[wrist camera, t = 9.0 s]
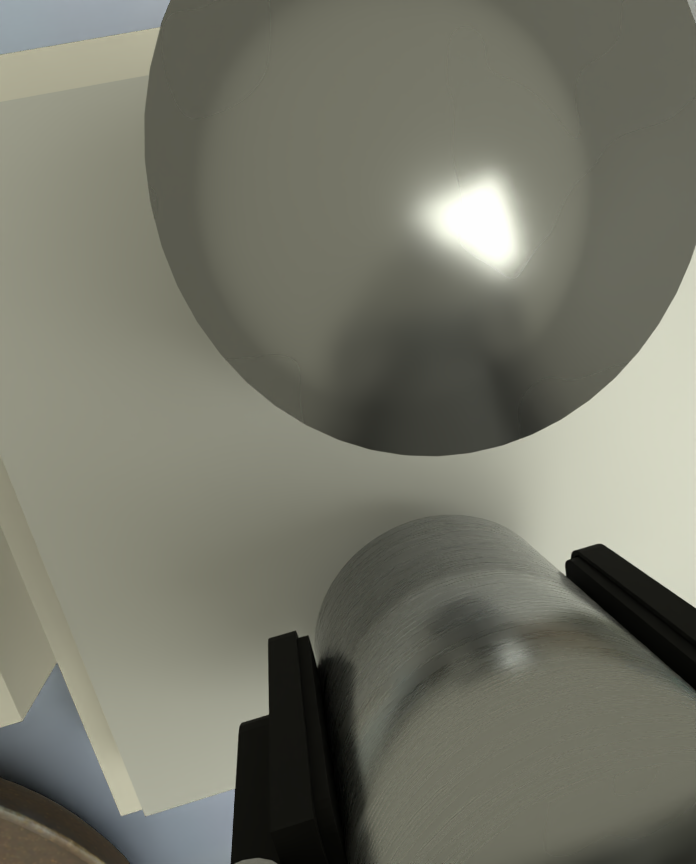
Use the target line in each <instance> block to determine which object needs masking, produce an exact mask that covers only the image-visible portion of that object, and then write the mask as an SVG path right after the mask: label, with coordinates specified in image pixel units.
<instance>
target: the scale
mask: <svg viewBox="0 0 696 864" xmlns="http://www.w3.org/2000/svg"><path fill="white" fill-rule="evenodd" d="M159 30H160V27H159V28H153V29H147V30H141V31H135V32H130V33H124V34H118V35H112V36H106V37H101V38H95V39H89V40H83V41H77V42H72V43H66V44H60V45H54V46H48V47H43V48H37V49H31V50H25V51H19V52H14V53H8V54H2V55H0V728H1V727H4V726H7V725H11V724H14V723H18V722H21V721H23V719H24V718H25V716H26V714H27V713H28V711H29V709H30V707H31V706H32V704H33V702H34V701H35V699H36V697H37V695H38V694H39V692H40V690H41V689H42V687H43V685H44V684H45V682H46V680H47V678H48V677H49V675H50V673H51V672H52V670H53V668H54V667H55V665H56V663H58V665H59V668H60V670H61V673H62V675H63V677H64V680H65V682H66V685H67V687H68V689H69V692H70V694H71V697H72V699H73V701H74V704H75V706H76V709H77V711H78V714H79V716H80V718H81V721H82V723H83V726H84V728H85V730H86V733H87V735H88V738H89V740H90V742H91V745H92V747H93V750H94V752H95V754H96V757H97V759H98V762H99V764H100V767H101V769H102V771H103V774H104V776H105V779H106V781H107V783H108V786H109V788H110V791H111V793H112V795H113V798H114V800H115V803H116V805H117V807H118V810H119V812H120V815H121V816H123V815H127V814H130V813H133V812H136V811H139V810H143V812H144V815H145V817H146V816H149V815H152V814H155V813H158V812H162V811H165V810H168V809H171V808H174V807H178V806H181V805H184V804H187V803H190V802H194V801H197V800H200V799H203V798H206V797H210V796H213V795H216V794H219V793H222V792H226V791H229V790H232V789H235V784H236V767H237V750H238V733H239V726H240V724H241V723H242V722H246V721H249V720H252V719H256V718H259V717H262V716H266V715H269V685H268V639H269V638H271V637H275V636H278V635H282V634H285V633H288V632H292V631H295V630H296V632H297V634H298V638H299V637H303V636H306V635H308V636H309V639H310V642H311V646H312V649H313V653H314V657H315V648H314V640H315V627H316V623H317V618H318V613H319V610H320V608H321V605H322V602H323V599H324V597H325V595H326V593H327V591H328V589H329V587H330V585H331V583H332V582H333V581H334V579H335V578H336V576H337V575H338V573H339V572H340V570H341V569H342V568H343V567H344V566H345V565H346V563H347V562H348V561H349V560H350V559H351V558H352V557H353V556H354V555H355V554H356V553H357V552H358V551H360V550H361V549H362V548H363V547H364V546H365V545H366V544H368V543H369V542H371V541H372V540H374V539H375V538H377V537H378V536H380V535H381V534H383V533H385V532H387V531H389V530H391V529H393V528H395V527H397V526H400V525H402V524H405V523H407V522H410V521H413V520H417V519H421V518H425V517H430V516H439V515H467V516H474V517H479V518H483V519H486V520H490V521H493V522H496V523H498V524H500V525H502V526H504V527H507V528H508V529H510V530H512V531H513V532H515V533H516V534H518V535H519V536H521V537H522V538H523V539H524V540H525V541H526V542H528V543H529V544H530V545H531V546H532V547H533V548H534V549H535V550H537V551H538V552H539V553H540V554H541V555H542V556H543V557H545V558H546V559H547V560H548V561H549V562H550V563H551V564H553V565H554V566H555V567H556V568H557V569H558V570H559V571H561V572H562V573H563V574H564V575H565V576H566V571H565V562H566V561H567V560H569V559H571V554H572V552H573V551H574V550H577V549H581V548H584V547H588V546H591V545H595V544H603V545H605V546H606V547H608V548H609V549H611V550H612V551H614V552H615V553H617V554H618V555H620V556H621V557H622V558H624V559H625V560H627V561H628V562H630V563H631V564H633V565H634V566H635V567H637V568H638V569H640V570H641V571H643V572H644V573H646V574H647V575H648V576H650V577H651V578H653V579H654V580H656V581H657V582H659V583H660V584H662V585H663V586H664V587H666V588H667V589H669V590H670V591H672V592H673V593H675V594H676V595H677V596H679V597H680V598H682V599H683V600H685V601H686V602H688V603H689V604H690V605H692V606H693V607H695V608H696V246H695V249H694V252H693V255H692V258H691V261H690V263H689V266H688V268H687V270H686V273H685V275H684V277H683V279H682V282H681V284H680V286H679V289H678V291H677V293H676V295H675V297H674V299H673V300H672V302H671V304H670V306H669V307H668V309H667V311H666V313H665V314H664V316H663V318H662V320H661V321H660V323H659V325H658V326H657V327H656V329H655V330H654V332H653V333H652V334H651V336H650V337H649V339H648V340H647V341H646V343H645V344H644V345H643V347H642V348H641V350H640V351H639V352H638V353H637V355H636V356H635V357H634V358H633V359H632V360H631V361H630V362H629V363H628V364H627V366H626V367H625V368H624V369H623V370H622V371H621V372H620V373H619V374H618V375H617V377H616V378H615V379H613V380H612V381H611V382H610V383H609V384H608V385H607V386H605V387H604V388H603V389H602V390H601V391H600V392H599V393H597V394H596V395H595V396H594V397H593V398H592V399H591V400H589V401H588V402H586V403H585V404H583V405H582V406H581V407H579V408H578V409H576V410H575V411H573V412H572V413H570V414H569V415H567V416H566V417H564V418H563V419H561V420H559V421H557V422H556V423H554V424H552V425H550V426H548V427H546V428H544V429H542V430H540V431H538V432H536V433H534V434H532V435H530V436H527V437H524V438H522V439H519V440H516V441H513V442H511V443H508V444H505V445H503V446H499V447H494V448H490V449H486V450H482V451H477V452H473V453H467V454H457V455H447V456H408V455H399V454H393V453H387V452H381V451H375V450H370V449H366V448H363V447H360V446H357V445H353V444H350V443H347V442H343V441H340V440H337V439H335V438H333V437H331V436H329V435H326V434H324V433H322V432H320V431H318V430H315V429H313V428H311V427H309V426H307V425H305V424H303V423H302V422H300V421H299V420H297V419H295V418H294V417H292V416H291V415H289V414H287V413H286V412H284V411H283V410H281V409H279V408H278V407H276V406H275V405H274V404H272V403H271V402H270V401H269V400H268V399H266V398H265V397H264V396H263V395H262V394H260V393H259V392H258V391H257V390H255V389H254V388H253V387H252V386H251V385H249V384H248V383H247V382H246V381H245V380H244V379H243V378H242V377H241V376H240V375H239V374H238V372H237V371H236V370H235V369H234V368H233V367H232V366H231V365H230V364H229V363H228V362H227V361H226V360H225V359H224V358H223V356H222V355H221V354H220V353H219V352H218V350H217V349H216V347H215V346H214V345H213V343H212V342H211V341H210V339H209V338H208V336H207V335H206V334H205V332H204V331H203V330H202V328H201V327H200V325H199V324H198V323H197V321H196V319H195V317H194V315H193V314H192V312H191V310H190V308H189V306H188V305H187V303H186V301H185V299H184V297H183V295H182V294H181V292H180V290H179V288H178V286H177V284H176V281H175V279H174V276H173V274H172V271H171V269H170V266H169V264H168V261H167V259H166V256H165V254H164V251H163V249H162V246H161V242H160V239H159V235H158V231H157V227H156V223H155V219H154V216H153V212H152V208H151V204H150V196H149V189H148V181H147V174H146V166H145V136H144V113H145V104H146V96H147V88H148V80H149V71H150V66H151V62H152V58H153V54H154V50H155V46H156V42H157V38H158V34H159ZM315 660H316V659H315Z"/></svg>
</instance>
